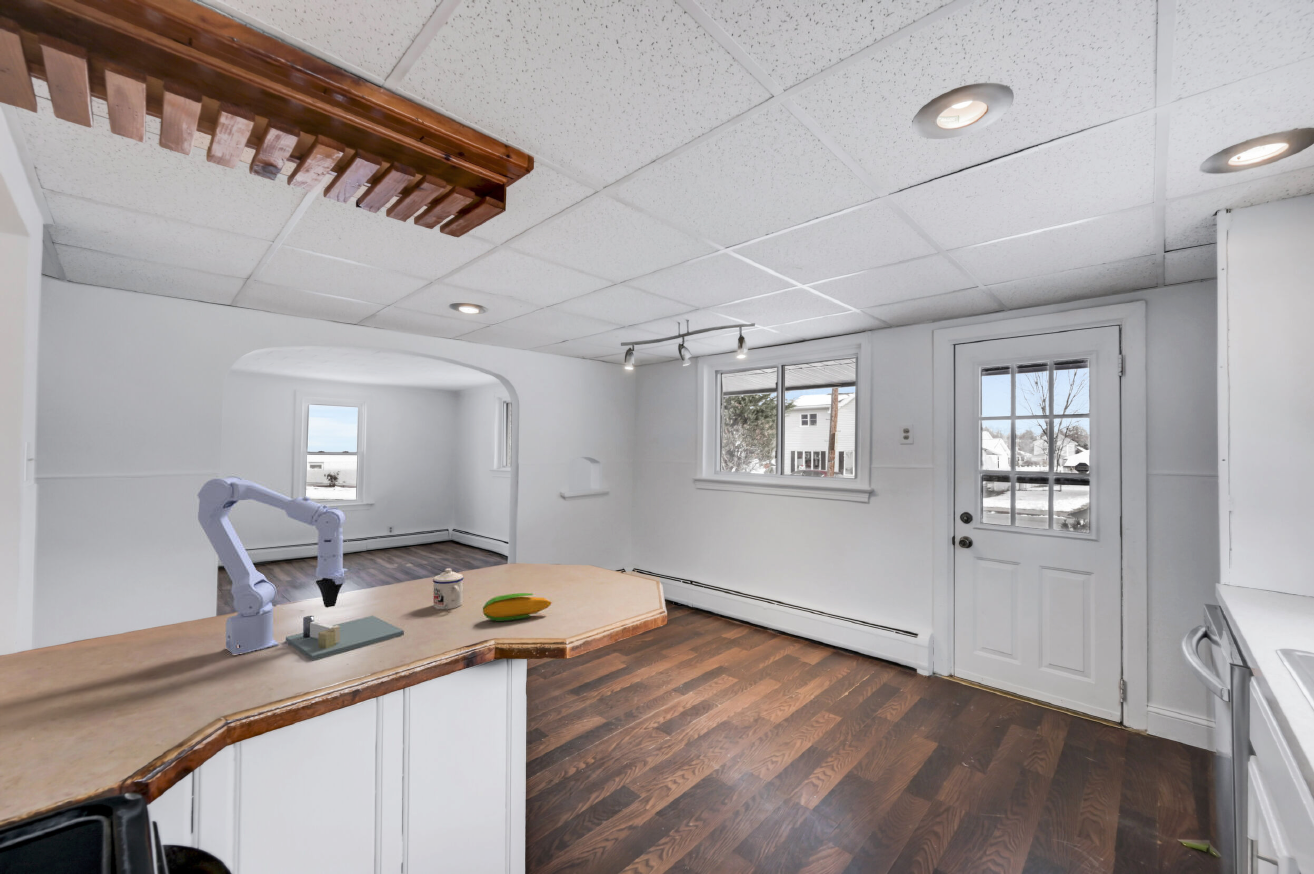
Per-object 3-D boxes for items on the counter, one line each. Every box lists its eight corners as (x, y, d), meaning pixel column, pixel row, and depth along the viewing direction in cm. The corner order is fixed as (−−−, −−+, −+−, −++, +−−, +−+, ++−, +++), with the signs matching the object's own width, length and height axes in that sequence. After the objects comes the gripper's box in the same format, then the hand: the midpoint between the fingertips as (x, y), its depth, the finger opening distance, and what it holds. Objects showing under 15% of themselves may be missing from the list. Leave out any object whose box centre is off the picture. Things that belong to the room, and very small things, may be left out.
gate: (309, 636, 141) (309, 621, 141) (314, 634, 142) (315, 619, 142) (334, 643, 137) (334, 627, 137) (339, 641, 138) (339, 625, 138)
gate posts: (322, 649, 134) (322, 629, 133) (301, 636, 142) (301, 617, 142) (336, 646, 136) (336, 626, 136) (315, 632, 145) (315, 614, 145)
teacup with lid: (428, 605, 173) (428, 568, 173) (455, 599, 179) (456, 564, 179) (443, 614, 164) (443, 575, 164) (472, 607, 170) (472, 570, 170)
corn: (481, 592, 161) (548, 585, 169) (481, 617, 161) (548, 609, 169) (484, 601, 154) (554, 593, 162) (484, 627, 154) (553, 618, 162)
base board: (312, 660, 130) (312, 655, 130) (285, 641, 142) (285, 636, 142) (403, 634, 147) (403, 630, 147) (372, 619, 159) (372, 615, 159)
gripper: (357, 556, 142) (357, 608, 142) (336, 548, 151) (335, 597, 151) (327, 561, 136) (327, 615, 136) (307, 552, 146) (307, 603, 146)
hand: (329, 606), depth 143 cm, fingers closed
